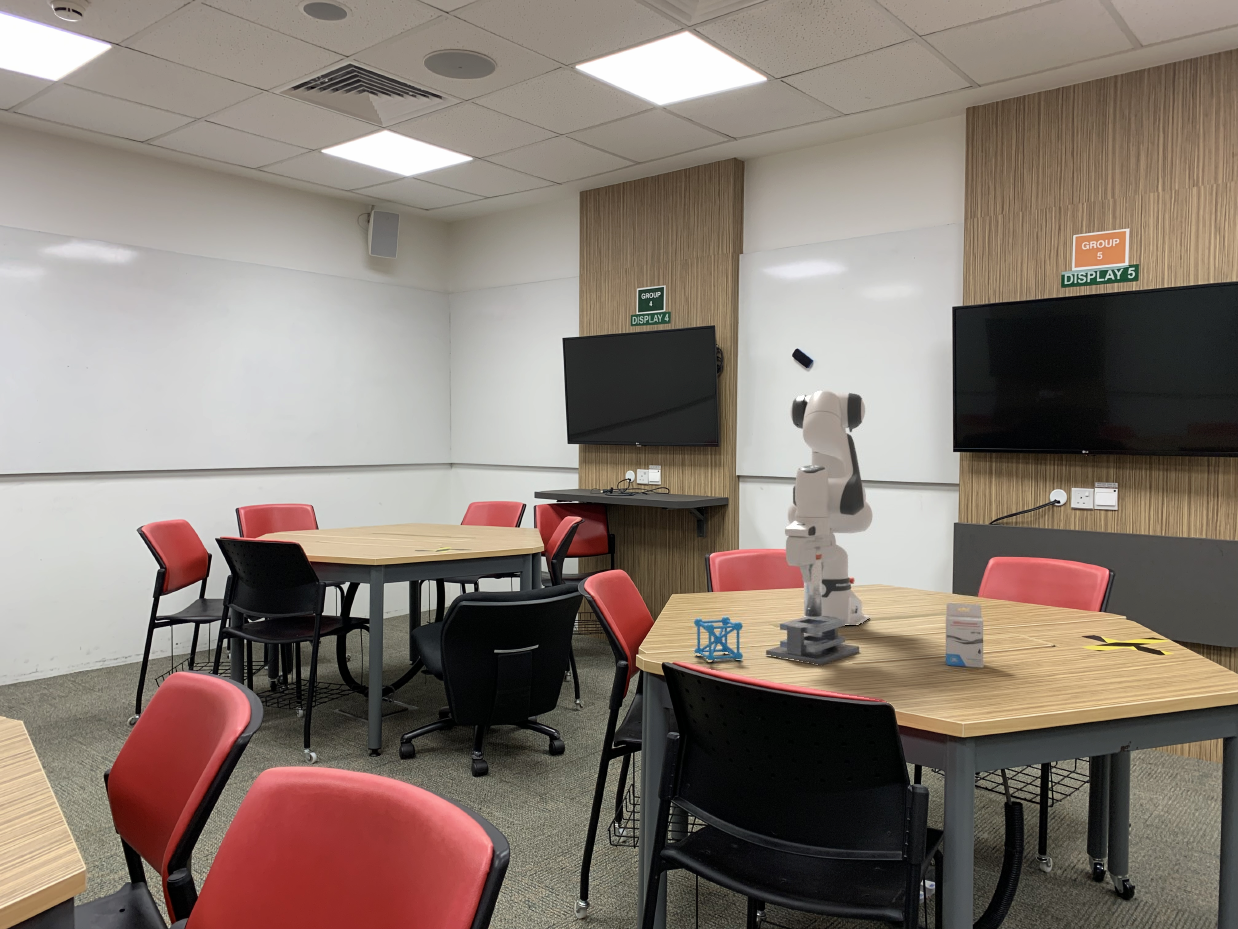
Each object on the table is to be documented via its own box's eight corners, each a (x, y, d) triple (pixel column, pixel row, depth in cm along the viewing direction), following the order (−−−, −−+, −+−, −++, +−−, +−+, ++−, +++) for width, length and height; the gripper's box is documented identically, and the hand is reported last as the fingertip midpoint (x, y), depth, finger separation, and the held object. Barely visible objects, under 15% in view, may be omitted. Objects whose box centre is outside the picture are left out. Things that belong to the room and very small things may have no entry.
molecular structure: (744, 661, 217) (744, 622, 217) (707, 664, 214) (707, 624, 214) (728, 653, 227) (727, 615, 227) (692, 655, 224) (692, 617, 224)
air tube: (809, 613, 228) (809, 545, 228) (825, 615, 225) (825, 546, 225) (800, 615, 224) (799, 546, 224) (816, 617, 221) (815, 547, 221)
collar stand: (805, 643, 237) (805, 613, 237) (859, 652, 226) (859, 620, 226) (766, 656, 223) (765, 623, 222) (821, 665, 212) (821, 631, 212)
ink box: (946, 665, 211) (945, 605, 211) (945, 661, 216) (945, 602, 216) (983, 668, 208) (983, 607, 208) (982, 663, 213) (982, 604, 213)
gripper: (821, 524, 234) (821, 575, 234) (781, 529, 219) (781, 583, 219) (842, 525, 230) (842, 577, 230) (803, 530, 215) (803, 585, 215)
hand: (812, 580), depth 224 cm, fingers closed on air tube, 4 cm apart
